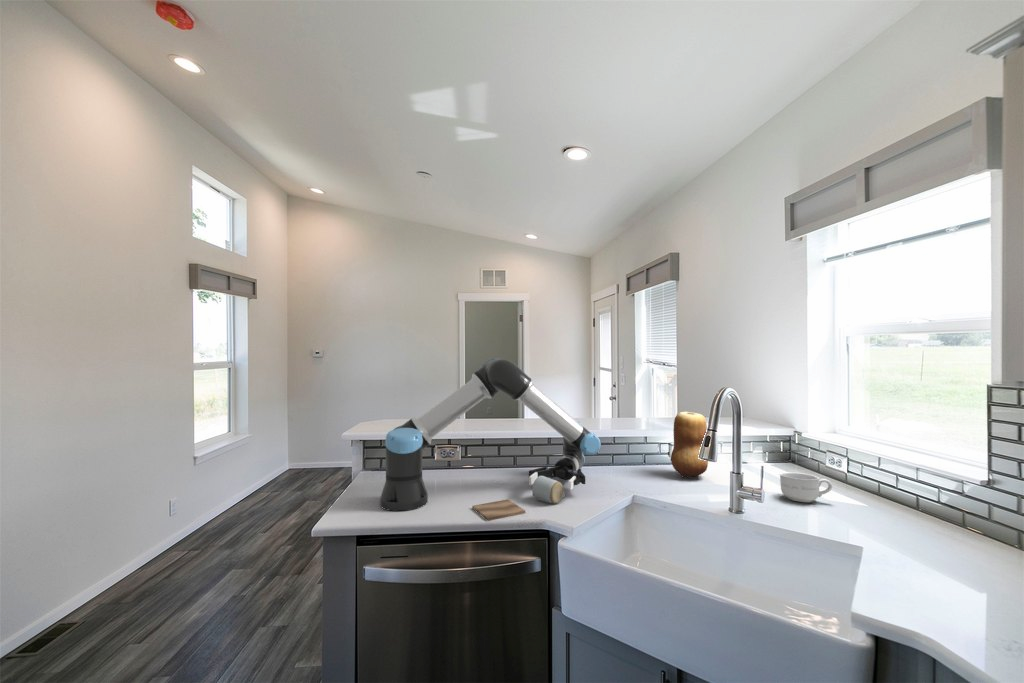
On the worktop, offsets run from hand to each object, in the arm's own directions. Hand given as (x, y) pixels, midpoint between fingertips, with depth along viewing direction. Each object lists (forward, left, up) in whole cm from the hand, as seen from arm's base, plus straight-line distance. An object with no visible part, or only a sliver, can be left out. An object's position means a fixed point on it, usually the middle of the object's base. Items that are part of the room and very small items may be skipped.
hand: (549, 483), depth 141 cm
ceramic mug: (-1, +1, -6) cm, 6 cm away
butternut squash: (+3, +62, -6) cm, 63 cm away
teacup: (+40, +72, -6) cm, 83 cm away
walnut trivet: (0, -19, -6) cm, 19 cm away
